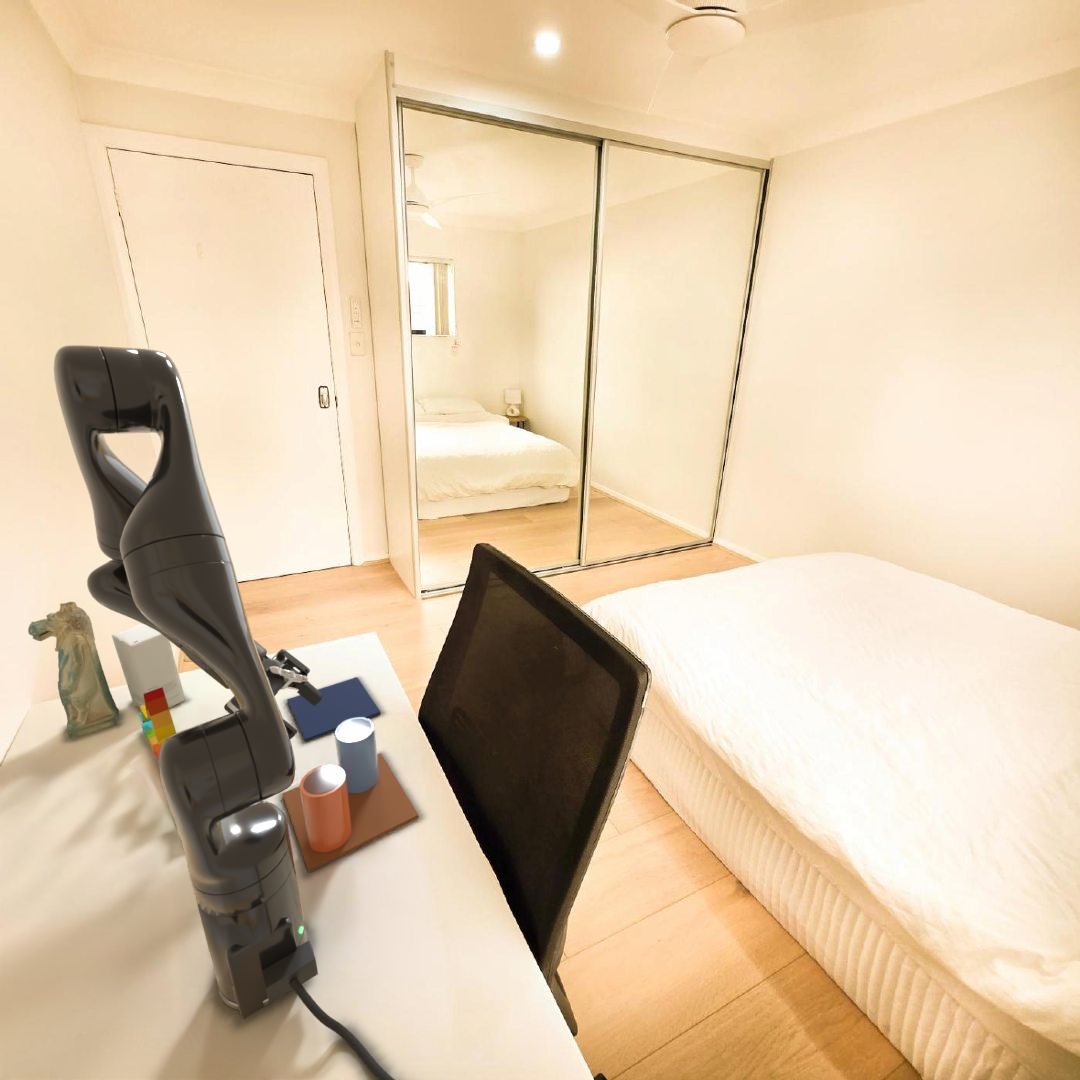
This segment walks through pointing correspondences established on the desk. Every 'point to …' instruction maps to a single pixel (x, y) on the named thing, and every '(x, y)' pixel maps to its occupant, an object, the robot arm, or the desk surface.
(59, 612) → the statue
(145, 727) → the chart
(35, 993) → the desk surface
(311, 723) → the navy mat
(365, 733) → the blue tumbler
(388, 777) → the brown mat
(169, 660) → the cosmetic box
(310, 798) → the terracotta tumbler
